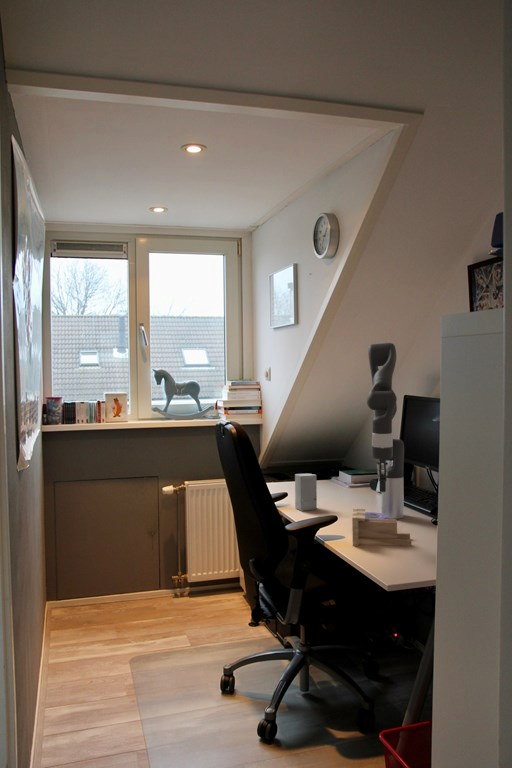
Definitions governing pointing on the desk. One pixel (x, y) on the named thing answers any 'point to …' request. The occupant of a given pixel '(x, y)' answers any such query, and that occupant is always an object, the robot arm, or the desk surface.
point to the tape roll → (374, 515)
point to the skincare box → (305, 492)
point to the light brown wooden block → (378, 528)
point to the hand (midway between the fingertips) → (382, 491)
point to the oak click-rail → (401, 538)
